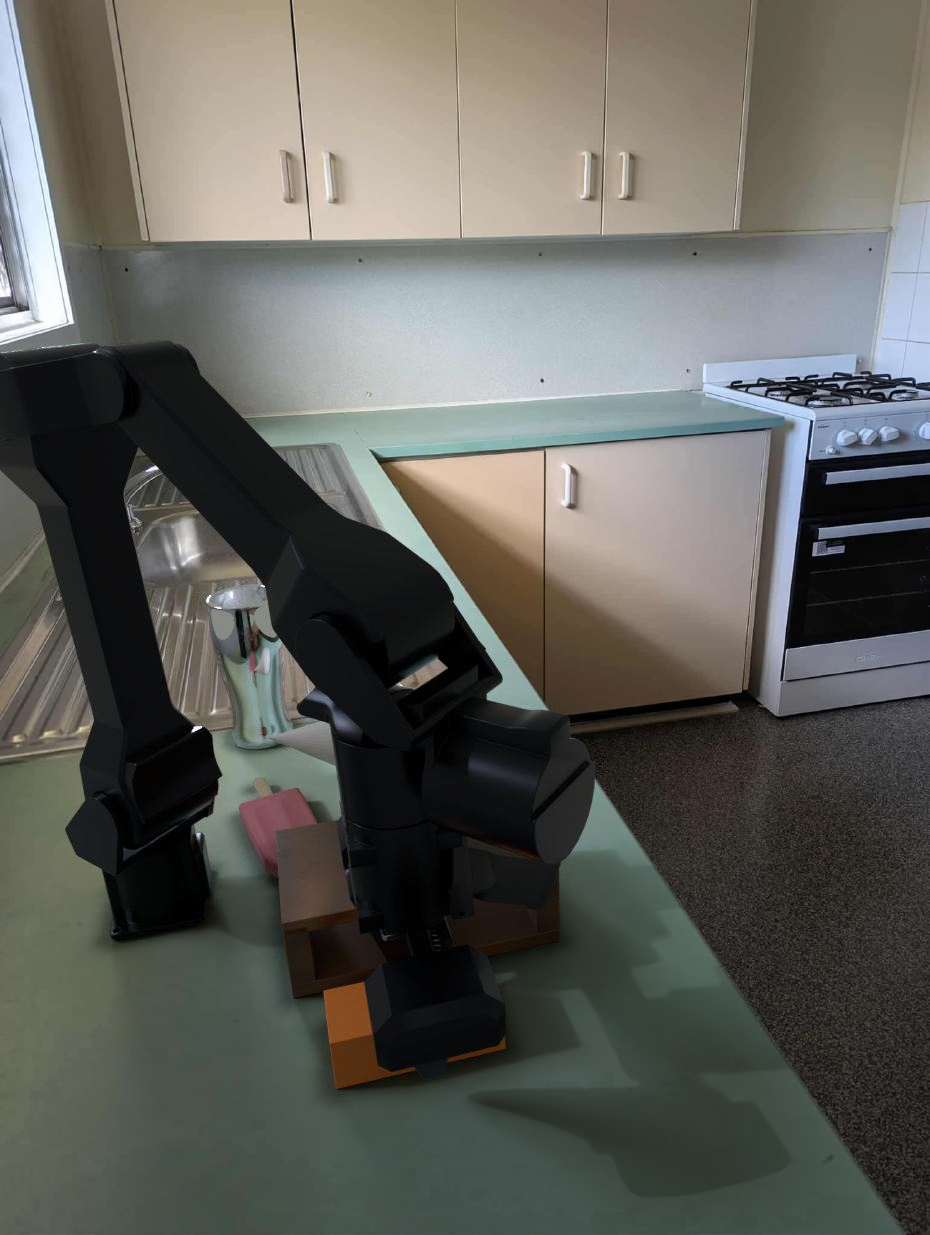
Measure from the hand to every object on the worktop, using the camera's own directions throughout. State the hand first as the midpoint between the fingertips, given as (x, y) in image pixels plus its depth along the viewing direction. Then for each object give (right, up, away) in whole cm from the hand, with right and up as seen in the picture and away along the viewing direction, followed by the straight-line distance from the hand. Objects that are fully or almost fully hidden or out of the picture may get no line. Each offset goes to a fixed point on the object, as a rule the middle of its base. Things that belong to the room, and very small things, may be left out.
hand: (421, 1026), depth 51 cm
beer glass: (-18, +12, +37) cm, 43 cm away
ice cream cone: (-8, +9, +30) cm, 32 cm away
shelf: (-1, +3, +11) cm, 11 cm away
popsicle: (-13, +6, +22) cm, 26 cm away
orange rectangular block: (0, -1, +1) cm, 2 cm away
